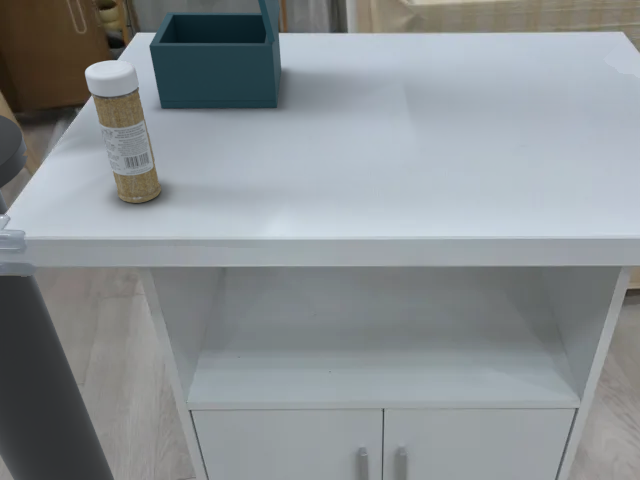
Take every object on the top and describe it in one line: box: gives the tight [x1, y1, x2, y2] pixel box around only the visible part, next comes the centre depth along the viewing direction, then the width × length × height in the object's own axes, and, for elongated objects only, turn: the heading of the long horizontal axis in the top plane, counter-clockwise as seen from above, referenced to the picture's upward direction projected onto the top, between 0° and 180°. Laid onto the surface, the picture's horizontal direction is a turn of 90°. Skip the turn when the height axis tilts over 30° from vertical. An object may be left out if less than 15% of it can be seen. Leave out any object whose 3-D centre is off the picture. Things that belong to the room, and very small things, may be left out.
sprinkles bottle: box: [84, 59, 162, 204], centre depth 67 cm, size 5×5×13 cm
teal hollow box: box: [149, 11, 282, 109], centre depth 90 cm, size 15×13×8 cm
